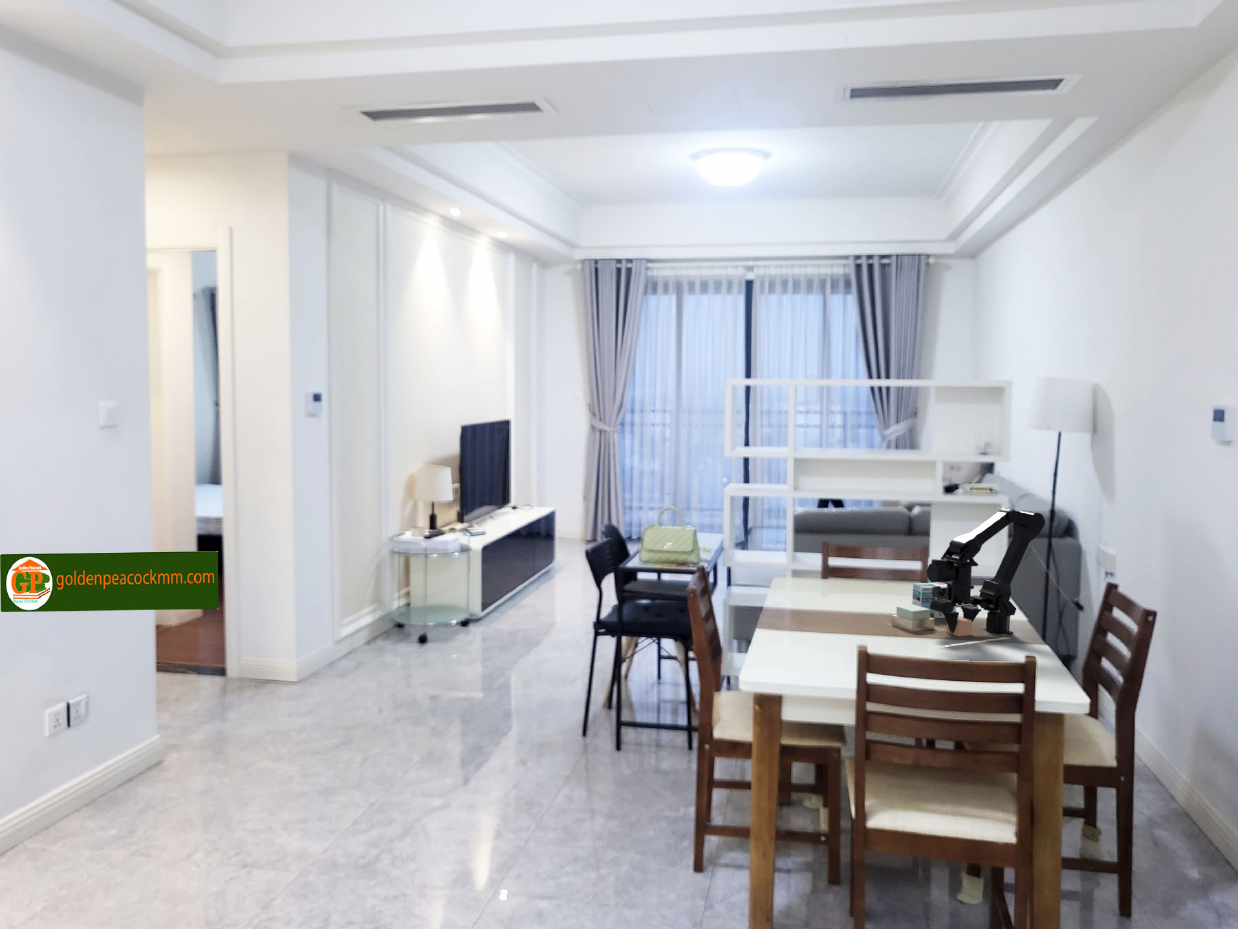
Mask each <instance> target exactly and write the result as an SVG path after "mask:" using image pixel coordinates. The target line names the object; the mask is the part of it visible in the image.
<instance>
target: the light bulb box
mask: <svg viewBox="0 0 1238 929" xmlns="http://www.w3.org/2000/svg"><path fill="white" fill-rule="evenodd" d="M935 586H940V587H941V589H942V588H947V584H946V583H945V582H923V583H921V582H919V583H917V582H916V583H915V582H914V583H913V584H912V599H911V600H912V602H911V603H912V604H911V605H917V606H920V607H924V608H927V609H930V602H931V601H932V600H937V597H933V596H932V587H935ZM943 600H944V599H943ZM946 601H950V600H946ZM930 618H934V619H946V618H945V616H944V614H943V613H942V612H939V611H935V610H932V609H930Z"/></svg>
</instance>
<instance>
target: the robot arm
mask: <svg viewBox="0 0 1238 929" xmlns="http://www.w3.org/2000/svg"><path fill="white" fill-rule="evenodd" d="M1011 524H1012V531H1013V532H1012V534H1013V536H1012V538H1011V541H1010V542H1009V545H1008V547H1007V549H1006V551H1005V554H1004V556H1003V557H1002V559H1001V562H1000V564H999V567H998V568H997V571H996V572H995V575H994V576H993V578H992V579H990V580H988V579H985V580H984V581H983V583H982V587H981V588H980V589H979V591H978V592H979V594H978V595H971V592H972V591H971V590H975V585H973V584H972V574H973V573H972V570H973V567H978V566H979V563H978V562H976V560H975V559H974V558H975V557H976V556H977V555H978V554H979V553H980V552H981V550H982V546H983V545H984V544H985V543H986V542H988V541H989V540H990V539H992V538H993V537H995V536H996V535H997V534H998V533H1000V532H1001V531H1002V530H1004V529H1005V528H1006V527H1008V526H1010V525H1011ZM1045 524H1046V520H1045V517H1044V514H1042V513H1040V512H1036V511H1031V510H1024V509H1023V510H1020V511H1018V510H1016V509H1013V508H1008V507H1003V508H1000V509H999V510H998V511H997V513H995V514H994V515H992V516H991V517H990V518H988V519H987V520H985V521H984V522H983V523H981V524H980V525H979V526H978V527H976V528H975V529H973V530H972V531H970V532H968V533H965V534H961V535H959V536H957V537H956V536H955V538H953V539H951V540H950V542H949V546H948V547H947V548H946V550H945V551H944V553H943V554H942V556H941V557H940V559H936V558H935V559H934V558H932V559H931V563H929V565H928V566H927V568H926V576H927V579H928V580H929V583H946V582H947V584H946V585H947V588H942V589H941V587H940V586H935V587H932V596H933V597H937V600H932V601H931V602H930V609H932V610H935V611H939V612H942V613H943V614H944V616H945V618H944V619H945V620H946V625H947V624H948V627H949V630H950V633H954V631H955V628H956V624H957V619H958V617H959V614H960V612H959V611H957V610H956V608H960V609H961V611H962V614H963V615H962V616H963V617H962V618H966V619H969V620H972V623H973V622H974V621H975V619H976V617H977V616H978V615H979V613H980V612H982V610H983V611H987V612H986V613H987V616H986V620H985V623H986V624H985V628H982V631H986V632H989V633H992V634H996V635H1002V634H1004V635H1010V634H1014V631H1011V630H1010V624H1011V616H1015V615H1016V612H1017V608H1016V607H1015V605H1014V604H1013V602H1011V596H1012V587H1011V585H1012V584H1011V583H1012V582H1013V580H1014V577H1015V576H1016V574H1017V573H1016V572H1017V571H1018V569H1019V566H1020V564H1021V563H1022V560H1023V558H1024V556H1025V553H1026V551H1027V550H1028V547H1029V545H1030V543H1031V542H1032V541H1033V540H1034V539H1035V538H1037V537H1038V536H1039V535H1040V533H1042V530H1043V529H1044V527H1045ZM943 599H944V600H943ZM946 600H950V601H946ZM979 607H980V608H979Z"/></svg>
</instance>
